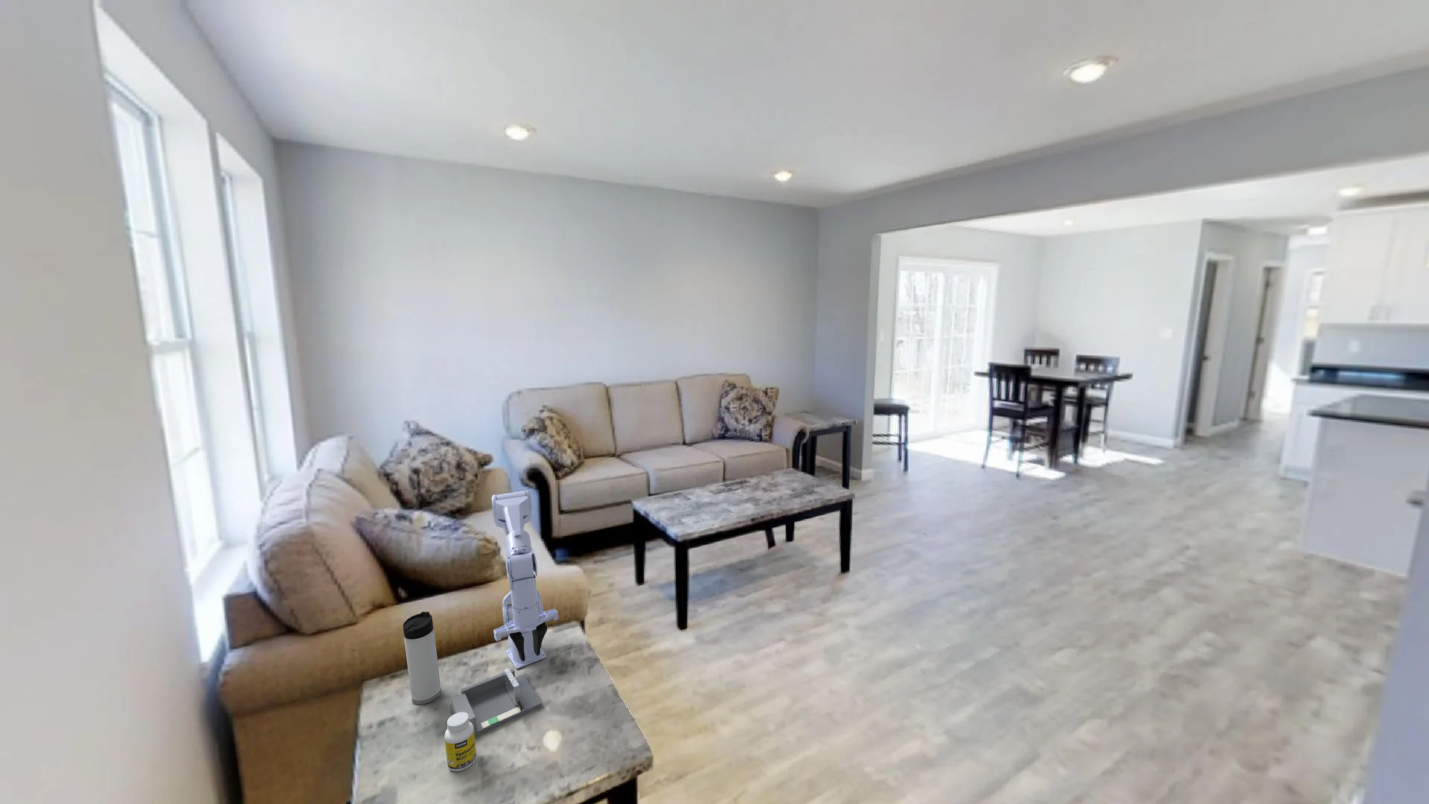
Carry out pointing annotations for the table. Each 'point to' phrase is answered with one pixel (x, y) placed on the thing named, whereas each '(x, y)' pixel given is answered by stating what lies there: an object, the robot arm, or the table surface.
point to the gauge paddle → (512, 687)
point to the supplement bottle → (460, 742)
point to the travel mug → (422, 658)
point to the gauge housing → (494, 702)
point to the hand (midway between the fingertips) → (529, 656)
